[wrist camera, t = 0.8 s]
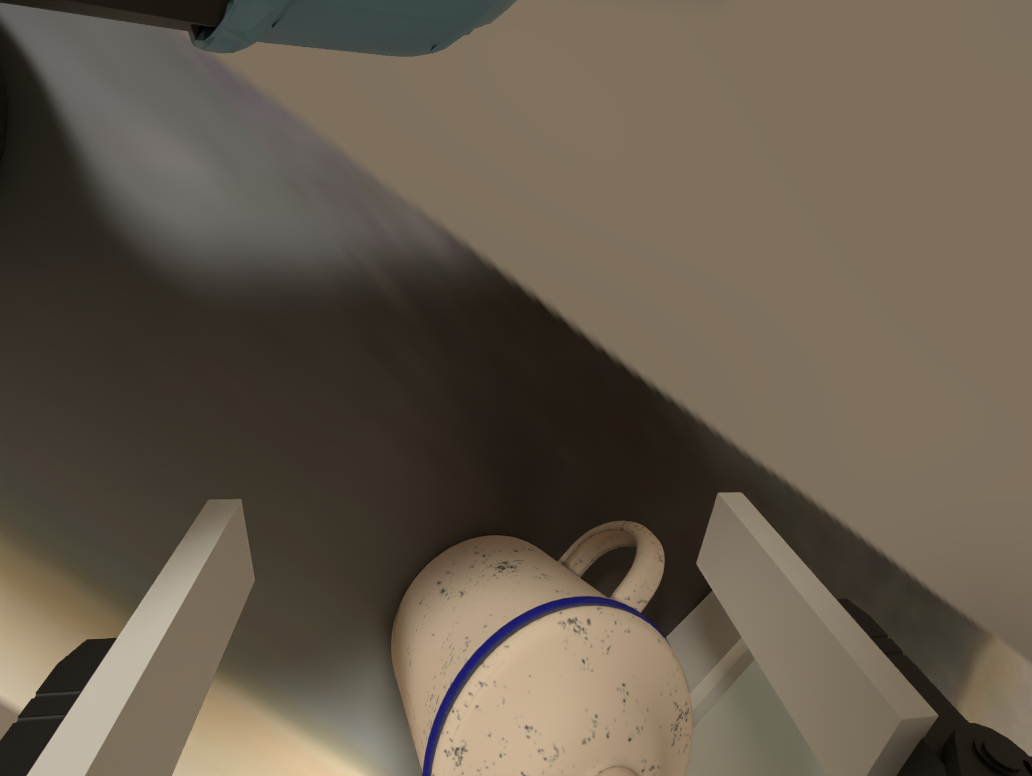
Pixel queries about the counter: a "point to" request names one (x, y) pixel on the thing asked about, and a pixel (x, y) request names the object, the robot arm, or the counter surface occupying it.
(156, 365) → the counter surface
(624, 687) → the teacup with lid
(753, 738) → the plinth
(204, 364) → the counter surface
